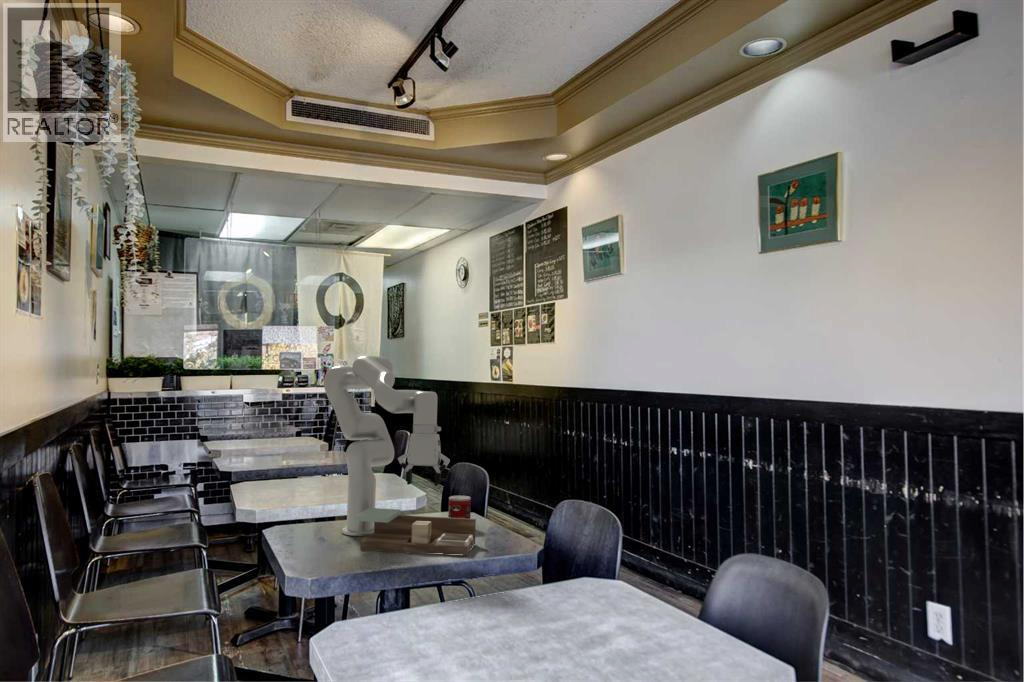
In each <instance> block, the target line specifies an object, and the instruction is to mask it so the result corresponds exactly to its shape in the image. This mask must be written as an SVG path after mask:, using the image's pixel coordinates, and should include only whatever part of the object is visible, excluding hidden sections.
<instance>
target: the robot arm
mask: <svg viewBox="0 0 1024 682" xmlns="http://www.w3.org/2000/svg"><path fill="white" fill-rule="evenodd" d="M393 370H394V367H393V364H392V362H391V360H390V359H389V358H387V357H385V356H380V355H379V356H377V355H362V356H359V357H357V358H356V359H355V360H354V361H353V363H352V365H336V366H332V367H331V368H330V369H328V370H327V371H326V373H325V376H324V381H323V385H324V391H325V394H326V397H327V398H328V401H329V402H330V404H331V406H332V409H333V410H334V412H335V416H336V420H337V421H338V424H339V427H340V430H341V433H342V435H343V437H344V438H345V439H346V440H349V441H354V442H352V443H350V444H349V445H348V447H347V449H346V452H345V459H346V464H347V476H348V477H347V507H346V509H347V510H346V526H344V527H342V528H341V533H342V534H344V535H346V536H352V537H353V536H354V537H362V536H363V537H365V536H369V535H371V534H372V533H374V522H367V521H354V519H355V515H357V514H359V513H361V512H363V511H364V510H366V509H368V508H376V497H377V495H376V494H377V489H376V488H377V478H376V475H375V473H374V472H373V469H372V468H374V467H382V466H388V465H389V464H390V463H392V462H393V460H394V458H395V447H394V444H393V441H392V438H391V435H390V433H389V431H388V428H387V426H386V423H385V421H384V419H383V418H382V417H381V415H379V414H377V413H375V412H374V413H373V412H362V411H361V409H360V405H359V403H358V401H357V399H356V398H355V396H353V395H352V394H351V393H350V392H349V391H348V390H367V389H369V388H371V389H372V390H373V396H374V399H375V401H376V403H377V404H378V405H379V406H381V408H383V409H384V410H386V411H387V412H389V413H391V414H413V416H412V417H413V418H412V420H413V421H412V422H413V423H412V433H411V434H410V437H409V442H408V448H407V452H406V453H404V454H402V455H400V456H399V457H397V460H398V462H399V464H400V466H401V467H402V469H403V470H404V471H405V482H406V484H407V485H411V484H412V483H413V471H412V469H413V467H414V466H416V467H417V466H419V467H432V468H433V469H434V470H435V473H434V486H435V487H438V486H439V485H440V483H441V480H442V479H441V478H442V477H441V476H442V472H443V471H444V470H445V469H446V468H447V467H448V465H449V463H450V461H451V460H450V458H448V457H447V456H446V455H444V454H443V453H441V452H442V451H441V450H442V449H441V440H440V439H441V438H440V434H438V432H441V431H442V427H441V426H438V424H437V423H438V421H437V420H438V394H437V392H435V391H428V390H427V391H423V390H417V389H394V388H393V386H394V384H395V381H396V379H395V375H394V373H393ZM406 458H407V460H406V461H407V463H406V461H405V459H406ZM441 460H442V461H443V463H442V464H441ZM440 464H441V465H440Z"/></svg>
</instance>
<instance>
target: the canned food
mask: <svg viewBox="0 0 1024 682" xmlns="http://www.w3.org/2000/svg"><path fill="white" fill-rule="evenodd" d="M471 500H472V498H471V496H469V495H468V496H467V495H451V496H449V497H448V511H447V513H448V516H447V518H466V519H471V510H472V509H471V507H472V506H471V505H472V503H471V502H472V501H471Z"/></svg>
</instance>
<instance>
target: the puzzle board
mask: <svg viewBox="0 0 1024 682" xmlns="http://www.w3.org/2000/svg"><path fill="white" fill-rule="evenodd" d="M415 521H430V522H431V544H421V543H412V524H413V523H414V522H415ZM476 521H477V519H476V518H470V519H466V518H448V516H445V517H444V516H429V515H428V516H423V515H406V514H400V515H398V516H397V517H396V518H394V519H393V520H391V521H390V522H388V523H386V522H374V533H372V534H371V535H367V536H366V537H365V538H363V539H362V540H360V543H359V544H360V545H359V550H360V549H361V550H360V551H372V550H381V551H380V552H389V551H397V552H396V553H406V552H411V553H410V554H422V553H443V554H463V555H467V554H468V552H469V551H470V549H471V548H472V546H473V545H474V544H475V545H476V530H477V529H476V526H477V522H476ZM472 549H473V548H472ZM470 552H471V551H470ZM470 552H469V553H470ZM468 555H469V554H468ZM468 555H467V556H468Z"/></svg>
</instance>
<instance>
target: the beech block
mask: <svg viewBox="0 0 1024 682" xmlns="http://www.w3.org/2000/svg"><path fill="white" fill-rule="evenodd" d="M412 543H421V544H431V522H430V521H415V522H414V523H413V524H412Z"/></svg>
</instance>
